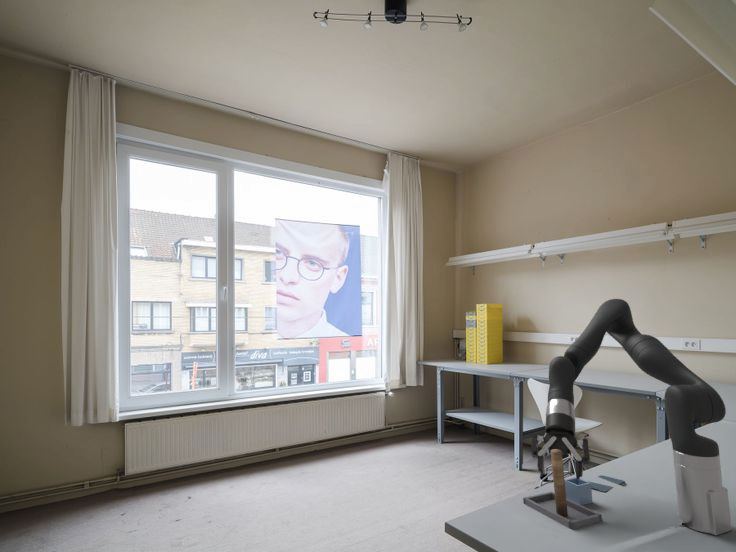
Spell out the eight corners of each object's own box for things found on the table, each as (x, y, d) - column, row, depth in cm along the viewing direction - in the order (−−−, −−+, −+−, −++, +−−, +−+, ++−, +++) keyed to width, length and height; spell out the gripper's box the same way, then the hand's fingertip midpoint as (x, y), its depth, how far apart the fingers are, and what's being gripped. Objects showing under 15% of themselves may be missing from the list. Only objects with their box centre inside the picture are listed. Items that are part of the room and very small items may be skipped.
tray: (602, 525, 105) (601, 514, 105) (572, 533, 101) (571, 522, 101) (551, 500, 120) (551, 491, 120) (523, 507, 116) (523, 497, 116)
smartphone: (626, 480, 131) (605, 492, 121) (627, 486, 131) (606, 498, 121) (600, 474, 137) (578, 484, 127) (601, 479, 136) (579, 490, 127)
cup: (592, 506, 116) (591, 483, 116) (579, 509, 114) (577, 485, 114) (578, 499, 120) (576, 477, 121) (565, 502, 118) (563, 479, 119)
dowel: (570, 515, 108) (564, 452, 108) (561, 517, 107) (555, 454, 107) (563, 510, 110) (557, 448, 110) (554, 512, 110) (548, 450, 110)
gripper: (589, 429, 120) (591, 486, 109) (535, 424, 127) (532, 478, 115) (587, 413, 116) (589, 471, 104) (531, 409, 122) (527, 463, 111)
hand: (559, 474), depth 110 cm, fingers open, 8 cm apart
